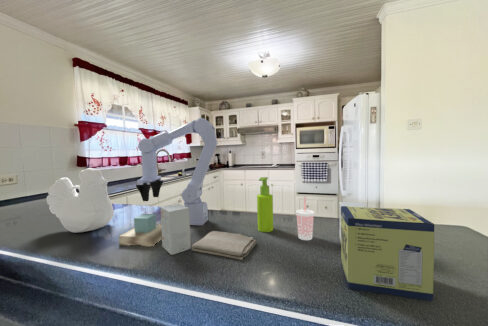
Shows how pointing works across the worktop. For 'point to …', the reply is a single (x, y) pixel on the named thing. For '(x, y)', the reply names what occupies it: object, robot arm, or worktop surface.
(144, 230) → the teal block
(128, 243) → the birch plinth
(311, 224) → the beverage cup
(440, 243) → the worktop surface
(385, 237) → the protein box
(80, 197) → the decorative rooster
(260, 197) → the soap dispenser
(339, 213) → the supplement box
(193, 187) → the robot arm
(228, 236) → the washcloth
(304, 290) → the worktop surface
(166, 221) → the small box
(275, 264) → the worktop surface
